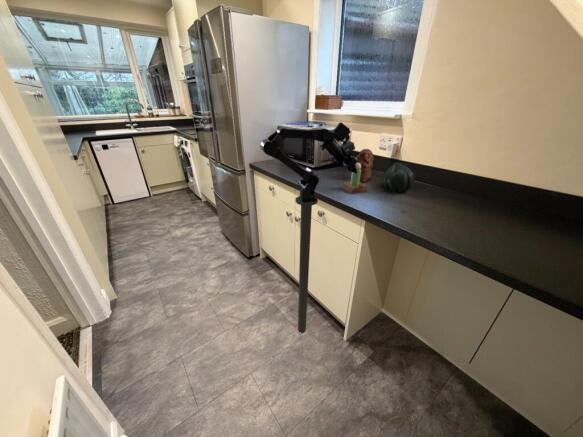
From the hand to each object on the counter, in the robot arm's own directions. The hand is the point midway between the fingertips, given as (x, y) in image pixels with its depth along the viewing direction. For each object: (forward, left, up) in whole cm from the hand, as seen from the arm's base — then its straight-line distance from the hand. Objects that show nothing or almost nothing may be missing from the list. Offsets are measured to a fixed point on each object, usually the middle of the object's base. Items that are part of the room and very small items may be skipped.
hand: (351, 170), depth 118 cm
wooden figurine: (+18, +11, -11) cm, 24 cm away
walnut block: (+3, 0, -11) cm, 11 cm away
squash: (+24, -9, -11) cm, 28 cm away
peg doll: (+3, 0, -8) cm, 9 cm away
